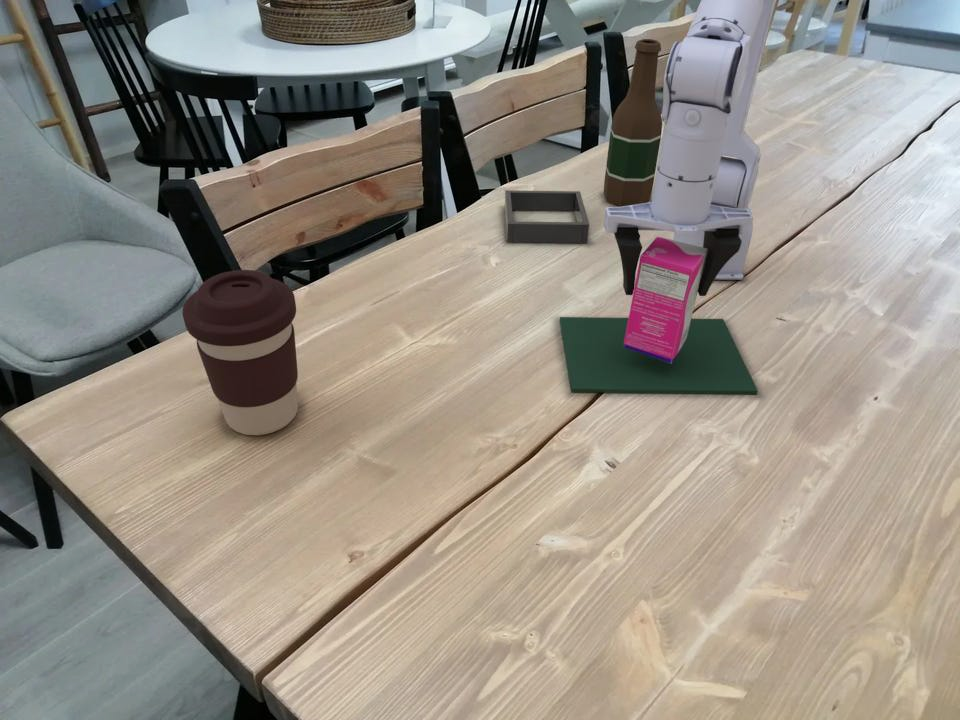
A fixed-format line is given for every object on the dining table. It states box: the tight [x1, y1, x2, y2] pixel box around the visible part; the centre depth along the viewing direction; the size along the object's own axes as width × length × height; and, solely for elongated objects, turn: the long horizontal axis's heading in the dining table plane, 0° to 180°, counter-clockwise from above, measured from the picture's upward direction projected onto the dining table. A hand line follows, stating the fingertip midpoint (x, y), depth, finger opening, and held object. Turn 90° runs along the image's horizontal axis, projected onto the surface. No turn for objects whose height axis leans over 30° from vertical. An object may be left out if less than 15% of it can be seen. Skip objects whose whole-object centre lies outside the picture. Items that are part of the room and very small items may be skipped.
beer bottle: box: [603, 38, 663, 207], centre depth 112 cm, size 8×8×24 cm
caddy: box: [504, 189, 590, 244], centre depth 110 cm, size 12×12×3 cm
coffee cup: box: [181, 269, 299, 436], centre depth 71 cm, size 10×10×15 cm
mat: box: [559, 316, 759, 395], centre depth 85 cm, size 20×14×1 cm
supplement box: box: [623, 235, 708, 364], centre depth 79 cm, size 6×6×12 cm
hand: (664, 290), depth 80 cm, fingers closed on supplement box, 7 cm apart
